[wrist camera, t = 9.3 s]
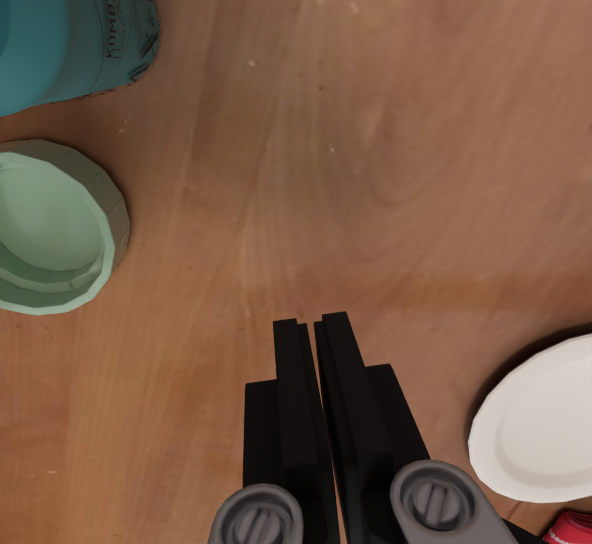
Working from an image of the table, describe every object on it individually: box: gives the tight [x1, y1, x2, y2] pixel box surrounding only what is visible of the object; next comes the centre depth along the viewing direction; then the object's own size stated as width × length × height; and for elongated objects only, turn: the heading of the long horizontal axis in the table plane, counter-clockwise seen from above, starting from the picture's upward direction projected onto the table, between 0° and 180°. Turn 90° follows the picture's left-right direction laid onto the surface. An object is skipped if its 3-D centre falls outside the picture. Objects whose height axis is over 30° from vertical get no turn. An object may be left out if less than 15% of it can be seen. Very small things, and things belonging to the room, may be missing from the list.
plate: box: [467, 332, 592, 503], centre depth 42 cm, size 21×21×2 cm
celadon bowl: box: [0, 139, 130, 315], centre depth 29 cm, size 10×10×4 cm
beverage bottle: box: [0, 0, 162, 117], centre depth 17 cm, size 6×7×20 cm
